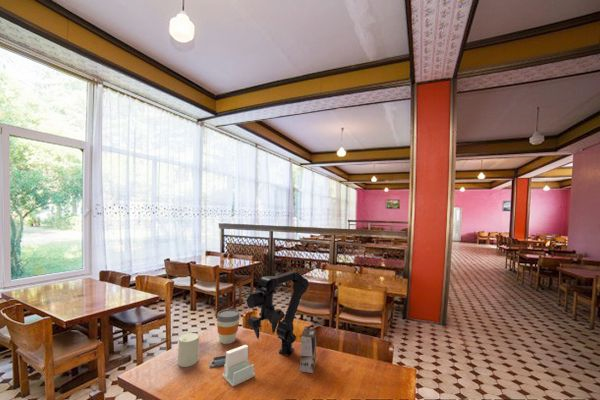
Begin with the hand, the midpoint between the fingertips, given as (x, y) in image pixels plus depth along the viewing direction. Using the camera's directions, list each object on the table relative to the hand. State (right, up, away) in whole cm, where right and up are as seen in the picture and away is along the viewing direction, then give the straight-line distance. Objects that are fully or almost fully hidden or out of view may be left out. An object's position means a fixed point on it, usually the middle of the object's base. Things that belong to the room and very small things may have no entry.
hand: (265, 335), depth 128 cm
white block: (-12, -11, -10) cm, 19 cm away
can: (-38, -12, -1) cm, 40 cm away
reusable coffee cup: (-25, -14, +21) cm, 35 cm away
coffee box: (+21, -14, -3) cm, 25 cm away
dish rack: (-11, -12, -11) cm, 20 cm away
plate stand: (-20, -12, -2) cm, 24 cm away
